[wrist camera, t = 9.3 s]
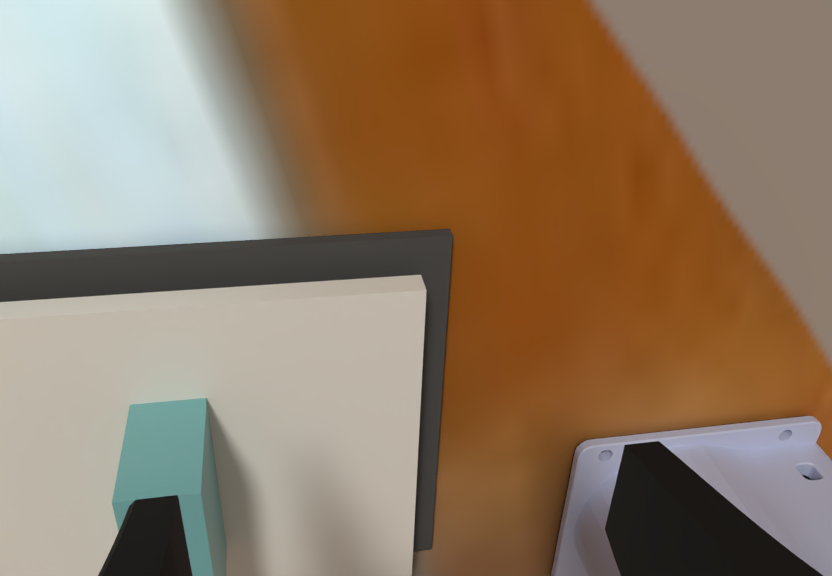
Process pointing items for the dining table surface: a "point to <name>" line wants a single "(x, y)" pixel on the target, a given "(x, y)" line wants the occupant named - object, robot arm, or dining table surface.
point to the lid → (216, 426)
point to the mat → (265, 267)
